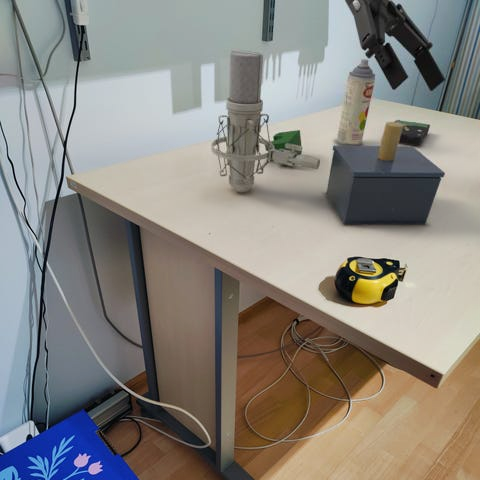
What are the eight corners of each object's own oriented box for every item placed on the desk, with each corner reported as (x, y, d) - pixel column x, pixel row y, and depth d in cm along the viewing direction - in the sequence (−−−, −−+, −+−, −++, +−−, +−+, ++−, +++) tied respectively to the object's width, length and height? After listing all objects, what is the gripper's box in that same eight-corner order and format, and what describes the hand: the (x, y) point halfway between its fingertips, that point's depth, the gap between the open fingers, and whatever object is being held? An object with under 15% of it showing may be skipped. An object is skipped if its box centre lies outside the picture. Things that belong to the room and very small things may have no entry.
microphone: (298, 221, 80) (319, 69, 64) (199, 193, 87) (196, 52, 72) (322, 198, 88) (346, 59, 72) (230, 175, 96) (233, 45, 80)
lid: (411, 150, 85) (422, 114, 81) (443, 177, 74) (457, 137, 70) (332, 149, 84) (338, 112, 80) (353, 176, 73) (361, 135, 69)
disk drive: (420, 147, 117) (427, 133, 128) (423, 137, 116) (430, 123, 126) (382, 141, 121) (393, 127, 131) (385, 130, 119) (395, 118, 129)
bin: (398, 194, 91) (410, 151, 85) (425, 224, 80) (441, 178, 75) (326, 194, 90) (333, 150, 84) (343, 224, 79) (353, 177, 73)
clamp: (279, 171, 111) (279, 134, 109) (301, 169, 109) (301, 131, 107) (263, 166, 100) (262, 125, 98) (287, 164, 98) (287, 121, 96)
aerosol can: (356, 148, 114) (374, 63, 102) (332, 143, 117) (347, 59, 104) (364, 142, 119) (382, 59, 106) (341, 137, 121) (356, 56, 109)
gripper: (383, 10, 85) (433, 100, 83) (303, -10, 69) (363, 100, 68) (414, -27, 79) (469, 70, 77) (335, -57, 64) (402, 62, 62)
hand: (420, 84), depth 73 cm, fingers open, 13 cm apart
